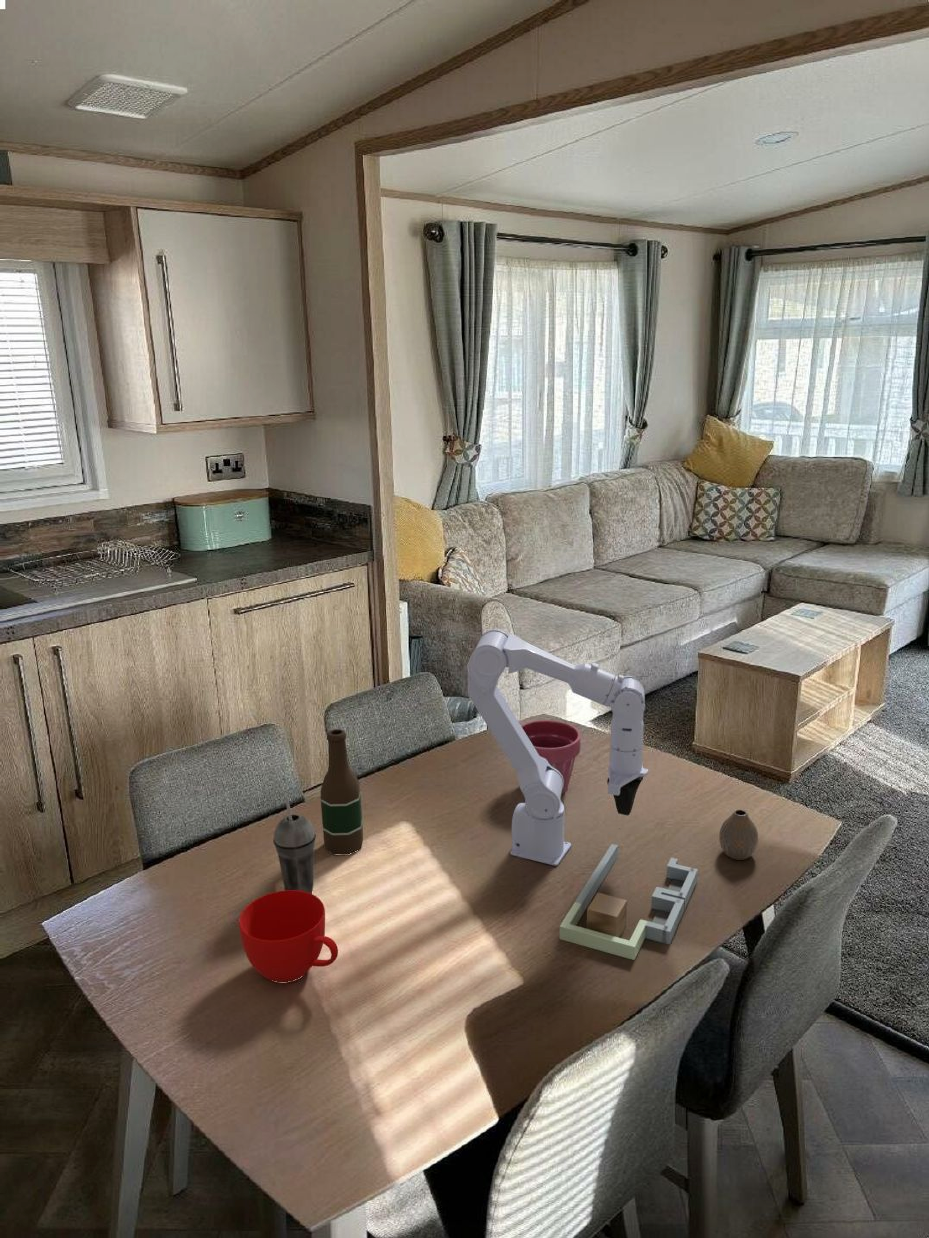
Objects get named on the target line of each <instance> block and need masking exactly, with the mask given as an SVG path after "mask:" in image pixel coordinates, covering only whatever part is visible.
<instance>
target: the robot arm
mask: <svg viewBox="0 0 929 1238" xmlns="http://www.w3.org/2000/svg"><path fill="white" fill-rule="evenodd" d="M506 668H508V672H507V674H509V675H510V674H513V673H516V672H519V671H523V670H524V669H527V670H528V669H529V670H530V671H533V672H536V673H540V674H542V675H544V676H547V677H550V678H553V679H556V680H558V681H561V682H564V683H566V684H568V685H569V687H570V689H571V692H572V693H573V694H576V695H578V696H581V697H583V698H585V699H587V700H590V701H593V702H595V703H597V704H600V705H602V706H604V707H609V708H610V709H611V712H612V718H611V720H610V742H609V743H610V744H609V745H610V748H609V765H608V778H607V794H609V795H612V796H613V798H614V802H615V807H616V811H617V814H618V815H623V816H628V817H629V815H630V814H631V812H632V809H633V806H634V801H635V798H636V795H637V792H638V789H639V788H640V787H639V786H640V784H641V783H642V781H643V780H644V777H647V776H648V775H649V769H648V768H646V767H645V768H644V767H643V751H644V750H643V748H644V745H643V744H644V726H645V725H644V712H645V709H646V703H645V698H646V697H645V688H644V686H643V684H642V683H641V682H640V680H638V679H636V678H635V677H634V676H632V675H622V674H618V675H615V674H614V673H611V672H608V671H607V670H604V669H602V668H600V664H598V663H596V662H592V663H591V664H589V663H587V662H583V663H580V664H577V665H576V664H572V663H570V662H568V661H567V660H564V659H562V658H560V657H558V656H556V655H554V654H553V653H552V654H551V653H550V652H547V651H545V650H543V649H542V648H539V647H538V646H535V645H533V644H531V643H529V642H526V640H524V639H522V638H520V637H519V636H518V635H515V634H511V633H509V634H508V633H506V632H505V631H503V630H501V629H495V628H494V629H489V630H487V631H485V632H484V633H483V634H481V636H480V637H479V641H478V642H477V645H476V647H475V648H474V650H473V651H472V653H471V655H470V657H469V660H468V662H467V665H466V670H467V695H468V696H469V699H470V700H471V701H472V703H473V705H474V707H475V708H476V710H477V711H478V713H479V715H480V716H481V718H482V719H483V721H484V723H485V725H486V726H487V727H488V729H489V731H490V732H491V734H492V736H493V738H494V739H495V740H496V742H497V743H498V745H499V747H500V748H501V750H502V751H503V753H504V755H505V757H506V758H507V759H508V761H509V763H510V764H511V766H512V767H513V769H514V771H515V772H516V774H517V775H516V776H517V779H518V783H519V788H520V791H521V793H522V795H523V797H524V801H525V802H520V803H518V804H517V805H516V806H515V809H514V811H513V814H512V819H511V850H510V853H509V854H510V855H511V856H515V857H519V858H522V859H526V860H531V861H535V862H539V863H543V864H545V865H546V864H547V865H552V866H555V867H556V866H558V865H559V864H560V863H561V861H562V860H563V858H564V856H565V855H566V854H567V853H568V852H569V850H570V848H571V847H572V843H571V842H568V841H565V805H564V804H563V802H562V800H561V798H562V794H561V792H562V789H563V786H564V779H563V776H562V775H561V773H560V772H559V771H558V770H556V769H555V768H553V767H552V766H551V765H550V764H549V763H548V761H547V760H546V759H545V758H543V757H540V756H539V754H538V753H537V751H536V749H535V748H534V746H533V745H532V743H531V741H530V740H529V738H528V736H527V735H526V733H525V732H524V730H523V728H522V727H521V725H522V724H520V721H518V719H517V717H516V715H515V713H513V711H512V708H510V706H509V705H508V702H507V701H506V699H505V697H504V696H503V694H502V693H501V692H500V689H499V687H498V682H499V680H500V677H501V676H502V674H503V673H504V671H505V670H506Z"/></svg>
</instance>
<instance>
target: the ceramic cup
mask: <svg viewBox="0 0 929 1238" xmlns="http://www.w3.org/2000/svg"><path fill="white" fill-rule="evenodd" d="M238 928H239V935H240V938H241V943H242V948H243V950H244V953H245V956H246V958H247V959H248V961H249V963H250V965H251V966H252V967H253V968H254V970H256V971H257V972H258V974H259V975H261V976H262V977H265V978H266V979H268V980H269V979H270V980H269V981H271V980H273V981H277V982H288V981H293V980H295V979H298V978H300V977H301V976H303V975H304V974H305V973H306V972H307V973H308V972H309V970H311V968H313V967H317V968H318V967H320V968H322V967H328V966H330V965H332V964H333V963H334V962H335V961H336V959H337V958H338V955H339V948H338V945H337V943H336V942H335V940H334V939H332V938H331V937H329V936H326V935H325V934H326V933H325V932H326V909H325V905H324V902H322V900H321V899H320V898H319V897H318V896H317V895H315V894H311V893H308V892H304V891H298V890H285V889H284V890H278V891H274V892H271V893H267V894H264V895H262V896H259V897H258V898H256V899H255V900H253V901H251V902H250V903H249V904H248V905H246V907H244V908H243V910H242V912H241V913H240V916H239V920H238ZM324 945H325V946H326V947H327V948H328V949H329V952H330V958H329V959H319V957H320V954H321V951H322V949H323V946H324ZM307 973H306V974H307ZM306 974H305V975H306ZM305 975H304V976H305ZM304 976H303V977H304ZM300 979H301V978H300Z"/></svg>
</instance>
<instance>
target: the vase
mask: <svg viewBox="0 0 929 1238" xmlns="http://www.w3.org/2000/svg"><path fill="white" fill-rule="evenodd" d="M718 837H719V838H718V839H719V845H720V848H721V850H722V852H723V853H724V854H725V855H726V856H728V857H729V858H730V859H733V860H737V861H744V860H747V859H749V858H750V857H751V856H753V855H754V853H755V852H756V850H757V848H758V843H759V832H758V829H757V826H756V825H755V823H754V822H753V821H752V819H751V818H750V817H749V814H748V812H747V811H746V810H744V809H741V808H740V809H735V810H734V811H733V812H732V813H731V815H730V816H728V817H727V818H726V819H725V820H723V823H722V825H721V826H720V829H719V835H718Z"/></svg>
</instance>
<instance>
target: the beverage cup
mask: <svg viewBox="0 0 929 1238" xmlns="http://www.w3.org/2000/svg"><path fill="white" fill-rule="evenodd" d="M284 799H285V800H284V801H285V804H286V809H287V810H286V811H287V814H288V815H286V816H285V817H283V818H281V820H280V821H279V822H278V823H277V824H276V826H275V829H274V832H273V842H272V843H273V845H274V847H275V850H276V852H277V856H278V861H279V866H280V871H281V876H282V881H283V886H284V891H285V890H298V891H304V892H308V893H311V894H312V891H313V892H314V889H313V888H314V864H315V863H314V858H315V857H314V849H315V844H316V836H317V835H316V832H315V829H314V826H313V824H312V822H311V821H310V820H309V819H308V818H306V817H305V816H303V815H301V814H297V813H295V814H293V813H292V811H291V806H290V801H289V796H284Z"/></svg>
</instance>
